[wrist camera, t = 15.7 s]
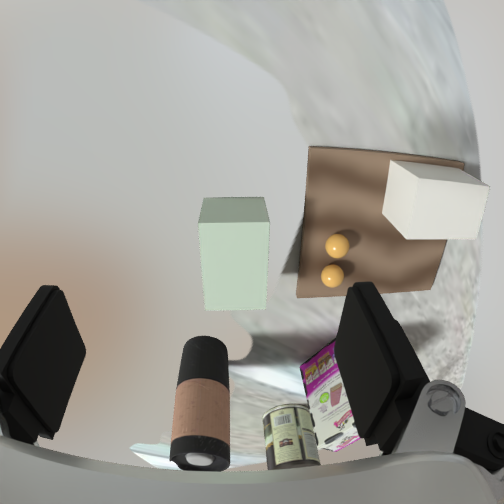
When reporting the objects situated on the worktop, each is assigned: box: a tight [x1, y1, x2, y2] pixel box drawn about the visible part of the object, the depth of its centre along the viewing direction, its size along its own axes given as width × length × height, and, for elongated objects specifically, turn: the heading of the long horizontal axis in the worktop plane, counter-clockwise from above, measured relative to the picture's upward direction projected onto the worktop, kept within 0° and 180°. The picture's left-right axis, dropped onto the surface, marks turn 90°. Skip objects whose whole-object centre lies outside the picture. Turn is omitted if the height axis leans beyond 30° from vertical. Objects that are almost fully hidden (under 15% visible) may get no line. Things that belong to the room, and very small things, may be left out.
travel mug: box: [170, 336, 230, 472], centre depth 42 cm, size 8×8×20 cm
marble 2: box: [321, 264, 344, 288], centre depth 41 cm, size 3×3×3 cm
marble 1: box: [325, 234, 349, 258], centre depth 39 cm, size 3×3×3 cm
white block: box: [382, 160, 490, 239], centre depth 34 cm, size 11×7×7 cm, turn 89°
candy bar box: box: [300, 339, 360, 452], centre depth 45 cm, size 11×5×16 cm, turn 140°
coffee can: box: [262, 404, 321, 470], centre depth 56 cm, size 10×10×14 cm
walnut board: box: [296, 146, 464, 298], centre depth 40 cm, size 20×22×1 cm
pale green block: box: [198, 197, 270, 310], centre depth 37 cm, size 11×7×7 cm, turn 179°
